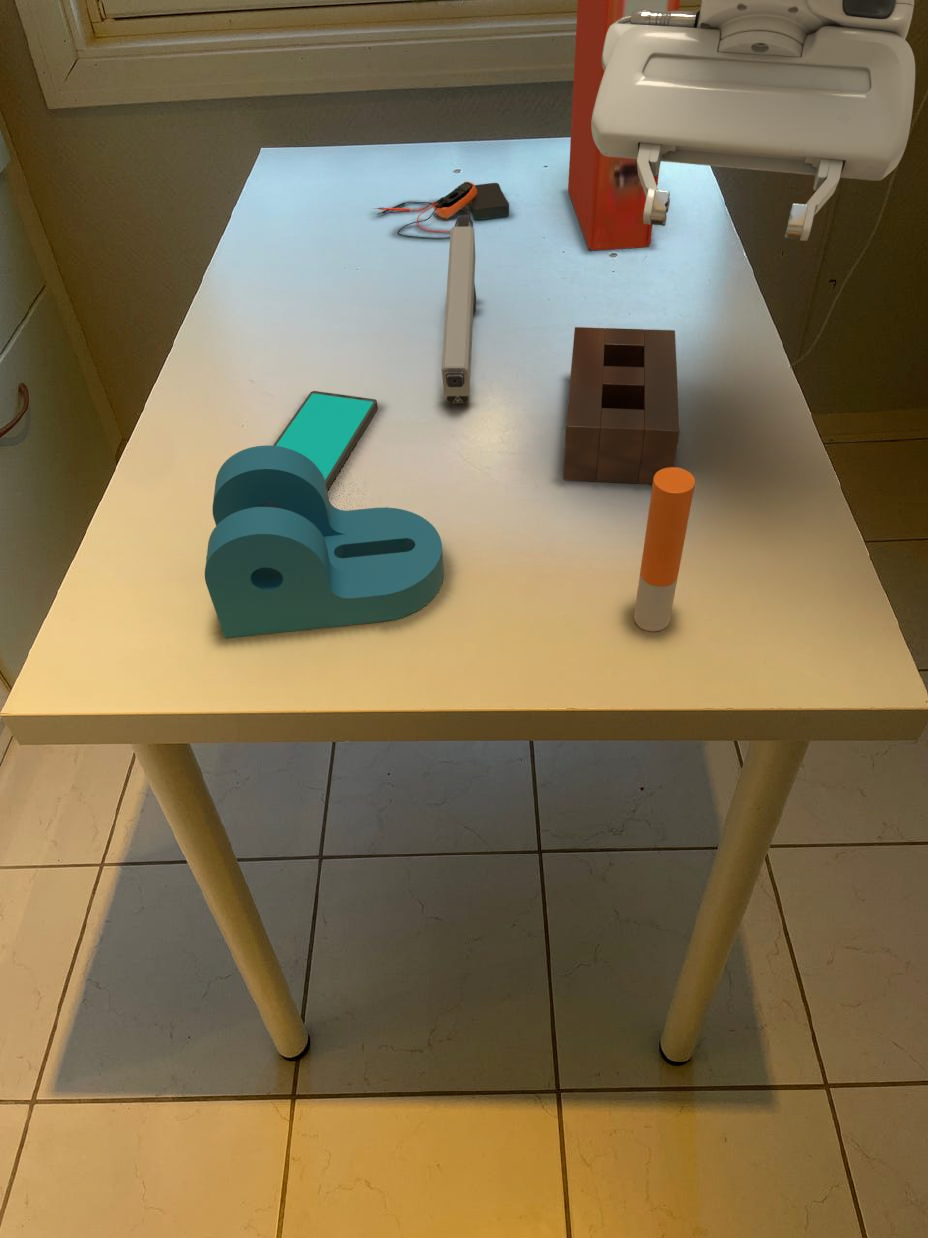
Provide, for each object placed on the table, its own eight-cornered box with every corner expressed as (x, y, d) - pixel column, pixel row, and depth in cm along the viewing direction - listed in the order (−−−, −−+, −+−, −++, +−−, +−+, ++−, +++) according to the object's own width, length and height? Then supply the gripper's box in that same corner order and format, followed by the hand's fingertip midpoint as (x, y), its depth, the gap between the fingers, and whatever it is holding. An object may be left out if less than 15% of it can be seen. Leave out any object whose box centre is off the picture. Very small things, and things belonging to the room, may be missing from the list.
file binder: (626, 188, 127) (651, -103, 104) (652, 246, 116) (687, -67, 92) (567, 192, 127) (580, -99, 104) (588, 250, 116) (607, -62, 92)
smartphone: (377, 399, 94) (320, 492, 84) (378, 406, 94) (322, 499, 85) (310, 390, 95) (247, 479, 86) (312, 397, 96) (249, 487, 86)
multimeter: (375, 244, 119) (372, 218, 116) (371, 204, 127) (368, 179, 124) (514, 232, 120) (514, 206, 117) (502, 193, 128) (502, 168, 125)
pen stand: (667, 382, 96) (675, 329, 91) (671, 485, 84) (679, 431, 80) (572, 379, 97) (574, 326, 92) (563, 480, 86) (565, 426, 81)
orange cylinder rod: (669, 607, 74) (694, 467, 64) (670, 633, 72) (696, 493, 62) (633, 604, 75) (653, 465, 64) (633, 630, 73) (653, 491, 62)
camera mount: (224, 638, 74) (191, 540, 66) (233, 548, 81) (203, 451, 73) (449, 614, 75) (442, 515, 67) (438, 527, 82) (430, 429, 74)
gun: (478, 276, 110) (475, 201, 101) (471, 441, 97) (467, 372, 89) (457, 276, 110) (452, 201, 101) (447, 441, 97) (440, 372, 89)
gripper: (607, -22, 60) (566, 194, 61) (943, -5, 56) (893, 227, 57) (613, 34, 66) (576, 230, 68) (916, 53, 62) (872, 262, 63)
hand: (724, 229), depth 62 cm, fingers open, 8 cm apart
